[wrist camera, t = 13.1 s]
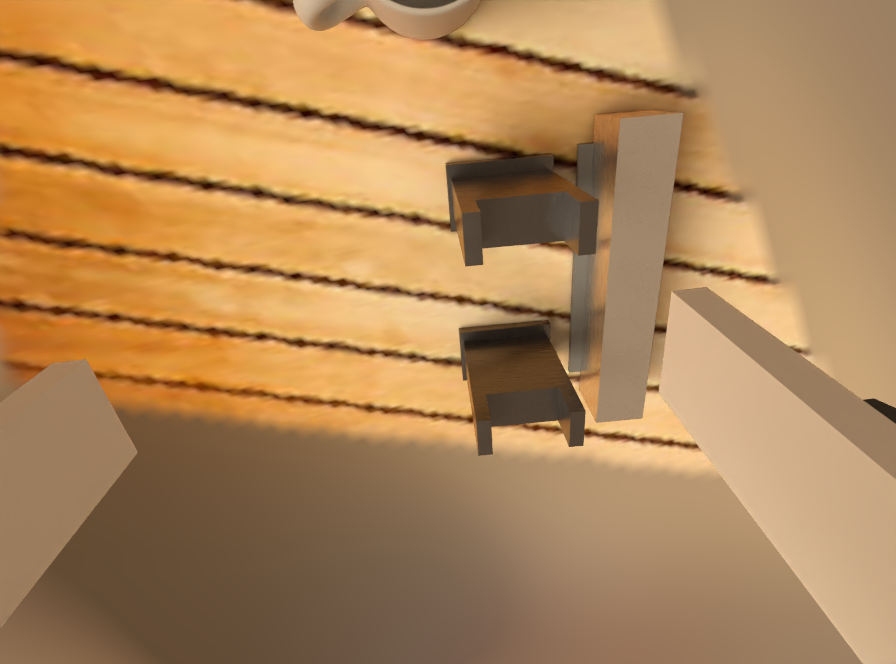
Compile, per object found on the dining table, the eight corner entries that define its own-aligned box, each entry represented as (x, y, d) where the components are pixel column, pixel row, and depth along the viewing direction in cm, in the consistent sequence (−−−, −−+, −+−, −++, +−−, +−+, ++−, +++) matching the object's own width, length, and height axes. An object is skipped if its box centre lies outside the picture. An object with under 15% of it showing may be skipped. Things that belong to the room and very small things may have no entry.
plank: (577, 144, 35) (579, 144, 35) (657, 136, 35) (659, 137, 35) (568, 370, 44) (569, 372, 44) (631, 364, 44) (633, 366, 44)
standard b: (458, 328, 42) (470, 409, 31) (548, 320, 42) (590, 398, 31) (462, 375, 44) (475, 466, 33) (547, 367, 44) (586, 456, 33)
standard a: (445, 163, 35) (454, 194, 25) (550, 153, 35) (605, 180, 25) (450, 228, 38) (461, 283, 27) (549, 219, 38) (599, 270, 27)
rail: (594, 115, 34) (620, 118, 29) (649, 109, 34) (683, 112, 29) (579, 389, 45) (596, 422, 40) (620, 386, 45) (642, 418, 40)
